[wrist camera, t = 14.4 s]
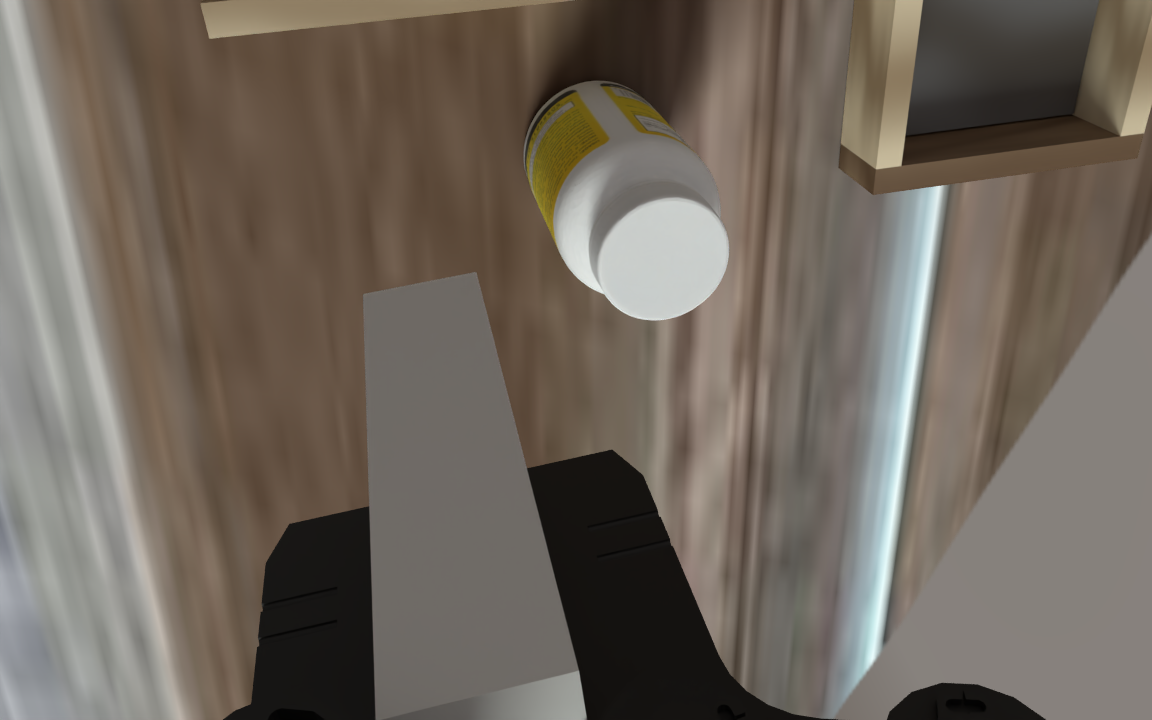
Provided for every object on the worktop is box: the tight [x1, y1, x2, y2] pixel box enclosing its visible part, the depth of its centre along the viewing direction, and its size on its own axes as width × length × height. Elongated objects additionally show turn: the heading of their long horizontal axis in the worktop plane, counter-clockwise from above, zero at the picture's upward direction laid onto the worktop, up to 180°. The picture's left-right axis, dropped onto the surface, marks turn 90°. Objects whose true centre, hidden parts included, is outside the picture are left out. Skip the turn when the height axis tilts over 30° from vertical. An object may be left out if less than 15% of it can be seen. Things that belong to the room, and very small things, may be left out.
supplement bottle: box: [524, 81, 729, 320], centre depth 31 cm, size 5×5×10 cm
